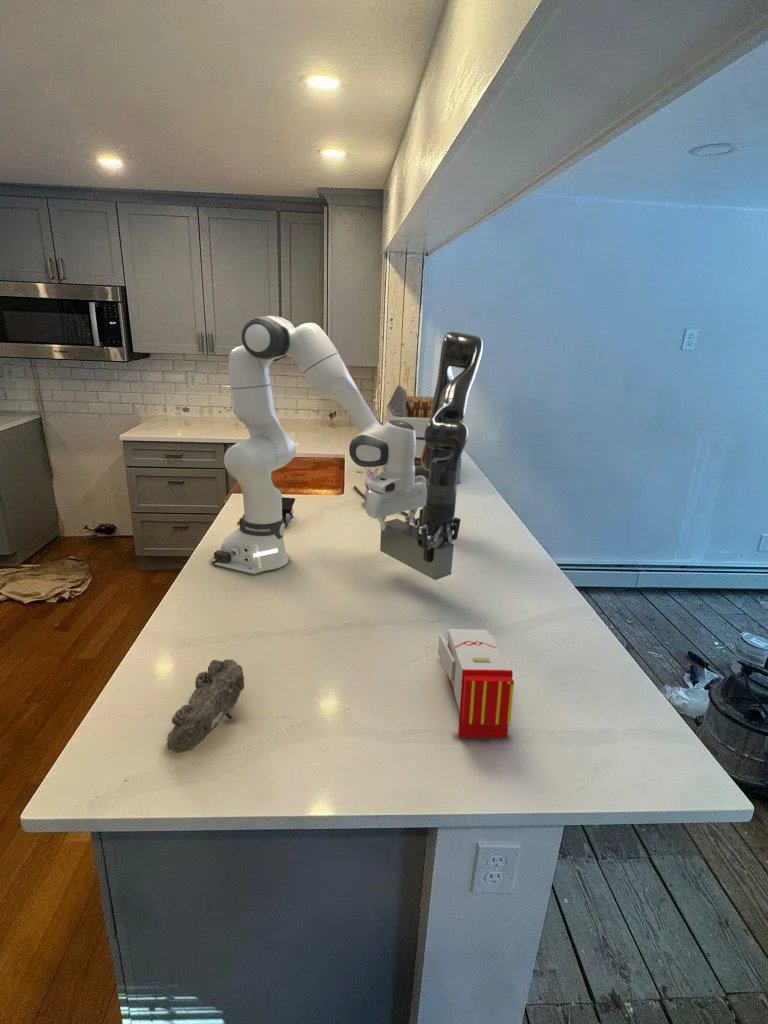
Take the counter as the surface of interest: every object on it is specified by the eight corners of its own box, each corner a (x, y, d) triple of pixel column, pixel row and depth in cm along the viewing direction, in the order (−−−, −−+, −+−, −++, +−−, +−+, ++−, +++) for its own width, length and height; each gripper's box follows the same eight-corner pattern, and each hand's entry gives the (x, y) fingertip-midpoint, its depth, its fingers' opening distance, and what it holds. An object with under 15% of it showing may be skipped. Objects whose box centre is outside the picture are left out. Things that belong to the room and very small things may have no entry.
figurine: (368, 510, 221) (370, 473, 216) (357, 502, 229) (358, 466, 224) (390, 507, 225) (391, 471, 220) (378, 500, 233) (379, 464, 228)
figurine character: (291, 533, 199) (296, 514, 213) (290, 514, 196) (295, 495, 209) (271, 532, 199) (278, 513, 213) (270, 513, 196) (277, 495, 209)
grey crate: (382, 463, 289) (386, 382, 275) (445, 464, 293) (451, 384, 279) (390, 482, 257) (394, 392, 243) (460, 483, 261) (468, 394, 247)
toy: (488, 613, 130) (523, 677, 101) (484, 667, 133) (517, 744, 104) (435, 612, 130) (455, 676, 101) (432, 666, 133) (451, 743, 103)
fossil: (192, 660, 117) (244, 628, 112) (224, 691, 120) (276, 661, 115) (142, 746, 98) (202, 712, 93) (182, 779, 101) (242, 748, 96)
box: (451, 574, 152) (453, 544, 149) (435, 580, 148) (437, 549, 145) (395, 546, 169) (397, 518, 166) (379, 550, 165) (381, 522, 162)
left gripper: (418, 471, 166) (416, 516, 170) (363, 482, 153) (362, 530, 158) (433, 476, 161) (430, 522, 166) (377, 488, 149) (376, 537, 153)
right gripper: (450, 490, 152) (445, 547, 158) (410, 499, 144) (406, 559, 149) (471, 497, 147) (465, 556, 153) (431, 508, 138) (426, 570, 144)
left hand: (396, 526), depth 162 cm, fingers open, 8 cm apart
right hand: (436, 558), depth 151 cm, fingers closed on box, 6 cm apart
